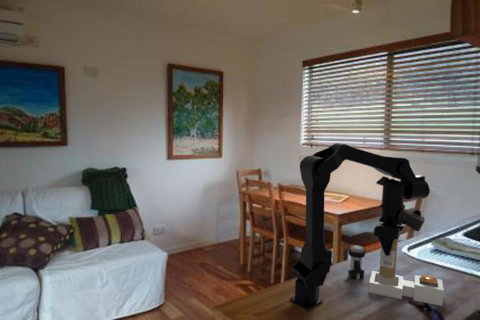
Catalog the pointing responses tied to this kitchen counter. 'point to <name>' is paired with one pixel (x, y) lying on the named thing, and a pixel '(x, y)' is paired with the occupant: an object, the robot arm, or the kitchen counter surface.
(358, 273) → the push button
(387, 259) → the sprinkles bottle
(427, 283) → the copper and black cylinder
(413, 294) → the housing
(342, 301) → the kitchen counter surface
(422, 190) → the robot arm
